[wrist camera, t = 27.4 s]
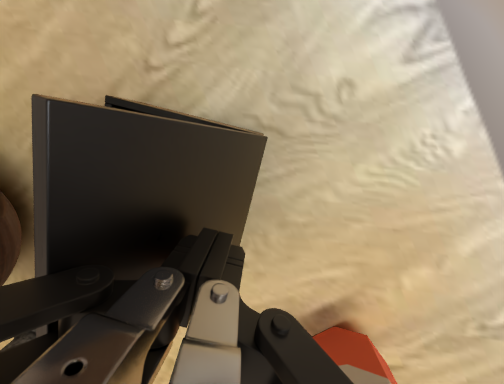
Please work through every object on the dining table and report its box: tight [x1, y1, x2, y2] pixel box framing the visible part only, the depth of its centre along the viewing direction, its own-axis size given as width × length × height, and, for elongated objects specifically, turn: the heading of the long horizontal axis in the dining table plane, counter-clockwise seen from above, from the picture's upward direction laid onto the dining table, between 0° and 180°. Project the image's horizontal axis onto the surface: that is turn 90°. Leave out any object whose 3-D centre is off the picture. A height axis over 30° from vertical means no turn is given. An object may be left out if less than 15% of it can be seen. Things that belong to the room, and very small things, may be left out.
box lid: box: [32, 94, 267, 338], centre depth 12 cm, size 12×11×1 cm
